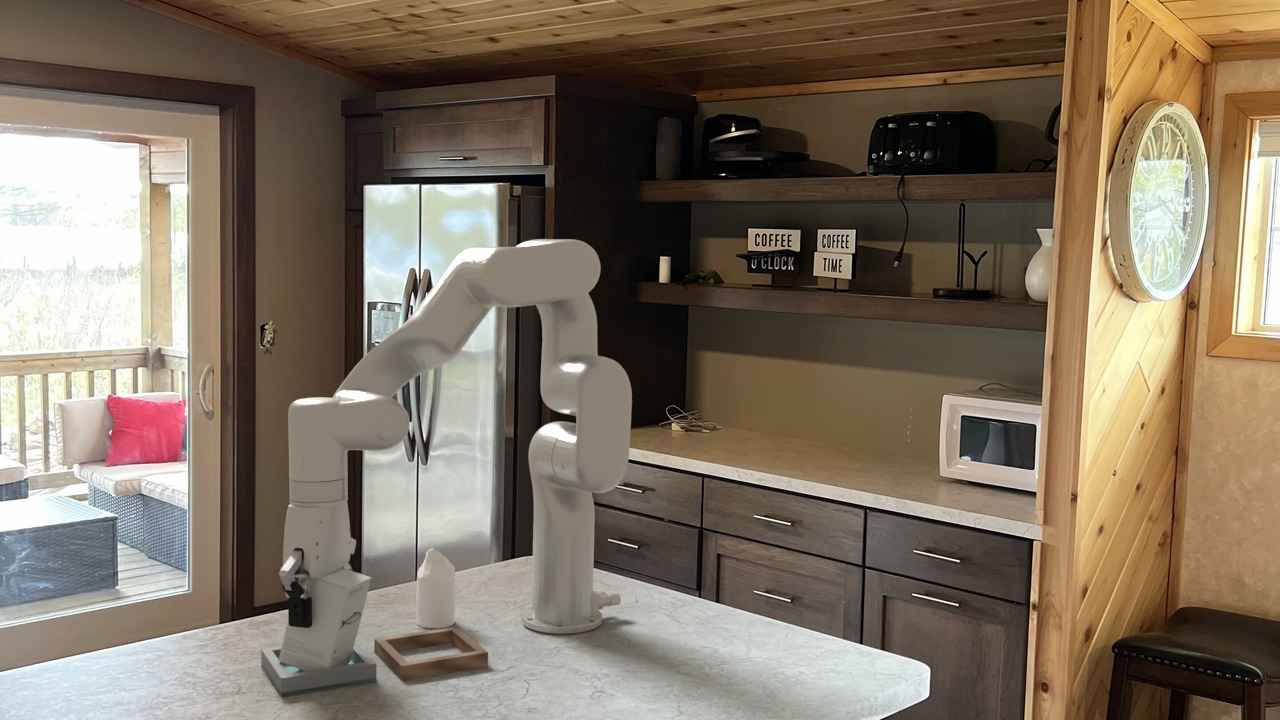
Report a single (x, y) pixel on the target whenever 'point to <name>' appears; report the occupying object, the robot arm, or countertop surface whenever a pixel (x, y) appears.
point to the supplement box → (328, 622)
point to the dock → (317, 673)
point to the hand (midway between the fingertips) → (320, 615)
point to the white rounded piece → (435, 591)
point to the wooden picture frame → (405, 670)
